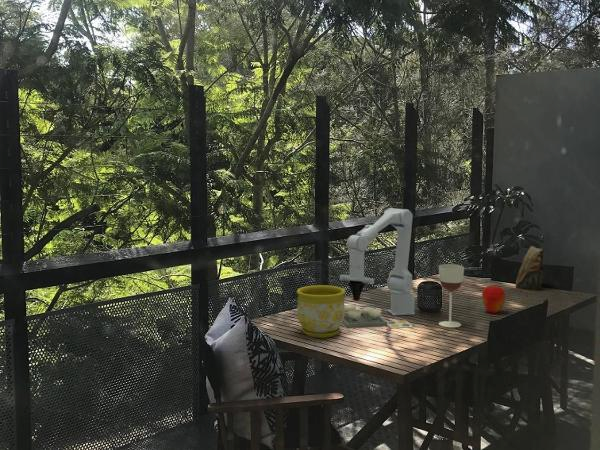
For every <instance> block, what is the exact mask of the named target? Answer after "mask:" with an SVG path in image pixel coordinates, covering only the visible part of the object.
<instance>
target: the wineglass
mask: <svg viewBox="0 0 600 450" xmlns="http://www.w3.org/2000/svg"><path fill="white" fill-rule="evenodd" d="M464 274H465V267H464V266H463V265H460V264H454V263H448V264H447V263H446V264H444V263H442V264H439V265H438V275H439V276H438V277H439V282H440V286H441V287H442V288H443V289H444V290H446V291H447V292H449V299H448V300H449V303H448V304H449V305H448V307H449V309H448V311H449V313H448V321H447V320H444V321H439V322H438V325H439V326H442V327H444V328H445V327H446V328H459V327H461V326H462V324H461V323H460V322H457V321H452V307H453V306H452V303H453V301H452V300H453V292H455V291H457V290H458V289H460V288H461V286H462V284H463V280H464Z"/></svg>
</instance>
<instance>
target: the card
mask: <svg viewBox="0 0 600 450" xmlns="http://www.w3.org/2000/svg"><path fill="white" fill-rule="evenodd" d="M385 321H386V320H385ZM386 322H387V327H389V328H390V329H407V328H410V327H411V328H414V326H413V325H412V323H409V321H408V320H389V321H386Z"/></svg>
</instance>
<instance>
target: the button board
mask: <svg viewBox="0 0 600 450" xmlns="http://www.w3.org/2000/svg"><path fill="white" fill-rule="evenodd" d="M342 324H343V326H345V328H346V329H359V328H377V327H379V328H380V327H381V328H382V327H388V325H387V322H386V320H385V319H384V318H383V317H382V315H381V316H379V317H376V319H373V317H371V316H368V315H364V314H363V311H361V317H359V318H356V320H353V318H350V317H348V313H347V312H345V315H344V320H343V322H342Z"/></svg>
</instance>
